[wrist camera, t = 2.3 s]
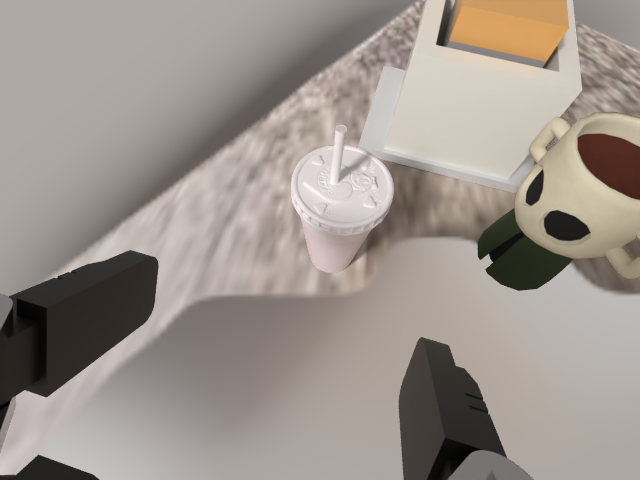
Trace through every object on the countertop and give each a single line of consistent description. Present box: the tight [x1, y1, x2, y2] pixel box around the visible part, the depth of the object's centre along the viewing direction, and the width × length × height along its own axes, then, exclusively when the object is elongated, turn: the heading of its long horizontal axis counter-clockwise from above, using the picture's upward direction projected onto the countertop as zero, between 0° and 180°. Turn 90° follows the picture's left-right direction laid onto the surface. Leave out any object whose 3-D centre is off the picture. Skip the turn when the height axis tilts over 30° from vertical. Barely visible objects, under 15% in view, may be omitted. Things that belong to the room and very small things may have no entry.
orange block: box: [439, 0, 569, 68], centre depth 29 cm, size 7×7×8 cm
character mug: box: [478, 112, 640, 291], centre depth 25 cm, size 11×7×13 cm, turn 17°
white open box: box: [358, 0, 582, 194], centre depth 33 cm, size 17×13×11 cm
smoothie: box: [291, 125, 394, 273], centre depth 24 cm, size 6×6×14 cm
